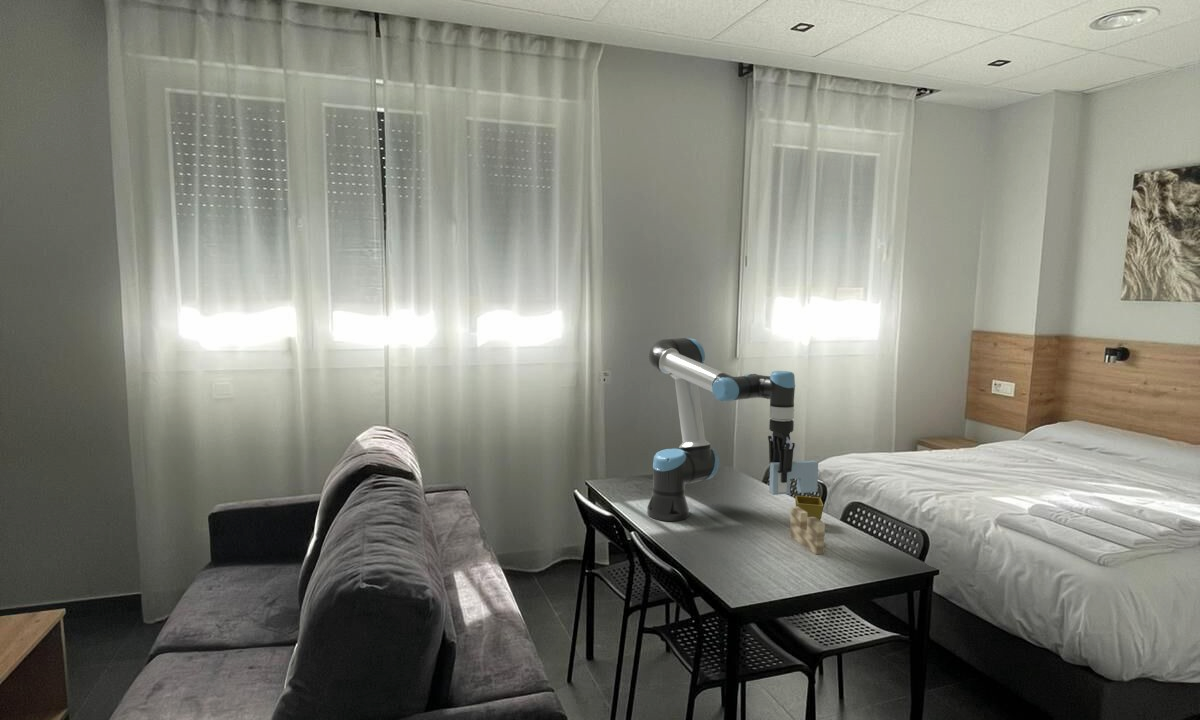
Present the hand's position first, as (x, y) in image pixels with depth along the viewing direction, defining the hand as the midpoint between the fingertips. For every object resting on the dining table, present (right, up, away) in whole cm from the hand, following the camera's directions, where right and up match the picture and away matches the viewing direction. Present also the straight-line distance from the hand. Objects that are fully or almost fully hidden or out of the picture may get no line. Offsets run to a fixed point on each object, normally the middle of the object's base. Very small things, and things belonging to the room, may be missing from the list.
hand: (779, 490), depth 212 cm
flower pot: (+15, -16, +18) cm, 28 cm away
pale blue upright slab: (+5, -1, +1) cm, 5 cm away
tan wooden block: (+9, -18, 0) cm, 20 cm away
